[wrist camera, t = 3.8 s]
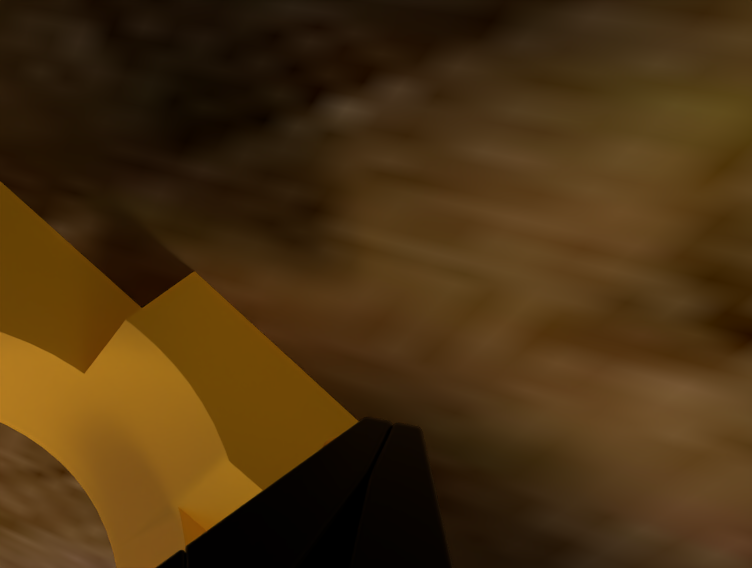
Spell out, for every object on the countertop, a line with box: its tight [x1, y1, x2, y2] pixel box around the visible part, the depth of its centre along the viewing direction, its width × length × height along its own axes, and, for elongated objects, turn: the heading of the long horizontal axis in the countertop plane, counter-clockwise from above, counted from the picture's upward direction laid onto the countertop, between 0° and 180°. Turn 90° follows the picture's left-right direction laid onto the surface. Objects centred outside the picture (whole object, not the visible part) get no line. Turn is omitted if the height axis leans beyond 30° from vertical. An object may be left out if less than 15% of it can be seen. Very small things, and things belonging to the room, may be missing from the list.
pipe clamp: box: [0, 181, 359, 568], centre depth 10 cm, size 12×4×6 cm, turn 48°
